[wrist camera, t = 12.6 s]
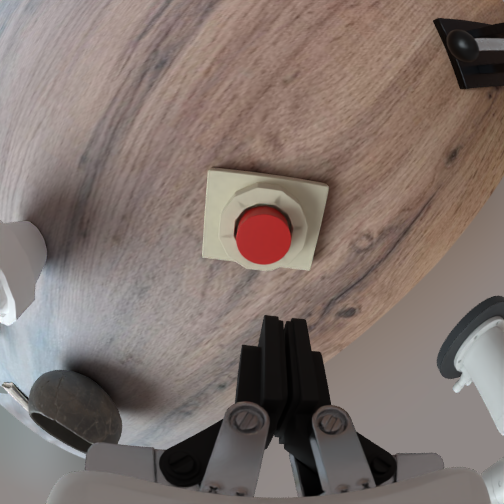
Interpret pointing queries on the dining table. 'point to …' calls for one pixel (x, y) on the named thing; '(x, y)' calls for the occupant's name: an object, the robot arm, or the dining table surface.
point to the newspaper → (16, 394)
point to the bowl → (74, 410)
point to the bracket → (488, 62)
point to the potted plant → (19, 267)
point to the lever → (471, 45)
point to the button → (263, 235)
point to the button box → (254, 195)
